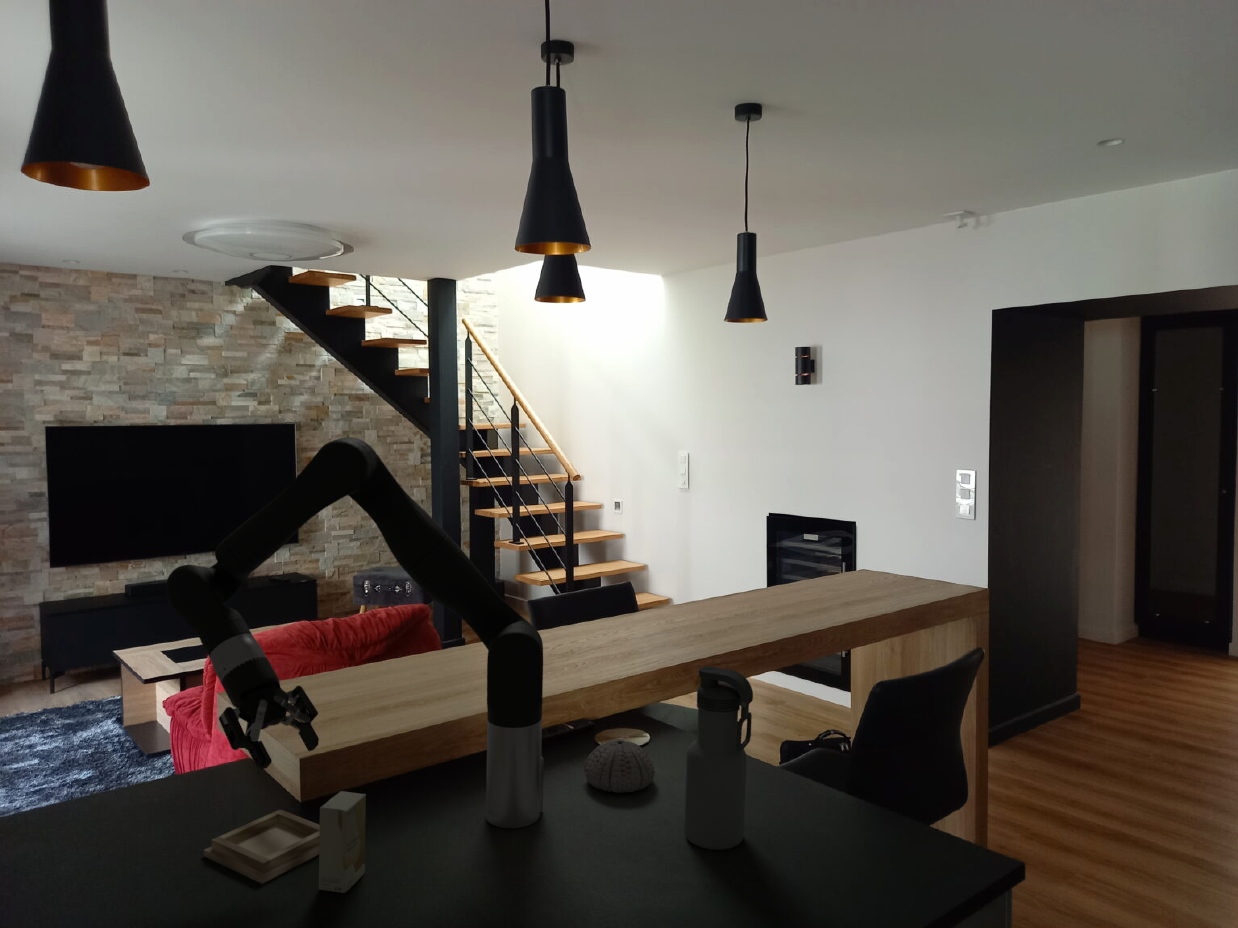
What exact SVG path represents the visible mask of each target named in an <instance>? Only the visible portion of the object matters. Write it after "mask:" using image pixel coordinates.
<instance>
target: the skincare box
mask: <svg viewBox="0 0 1238 928" xmlns="http://www.w3.org/2000/svg"><path fill="white" fill-rule="evenodd" d="M366 795H367V794H365V793H357V792H350V791H341V790H340V791H339V792H337V794H335V795H334V796H332V797H331V798H330V799H329V800H328V801H327V802H326V803H324V804H322V806H320V808H319V825H320V838H319V856H318V860H319V861H318V863H319V864H318V890H319V891H320V890H321V891H326V892H332V893H341V894H345V893H347V892H348V891H349V890H350V889H351V888H352V887H353V886H354V885H355V884H356V883H357V882H358V881H359V880H360V878H362V876H364V874H365V872H366V815H367V814H366V808H367V807H366V805H367V803H366V802H367V801H366V800H367V798H366V797H367V796H366Z"/></svg>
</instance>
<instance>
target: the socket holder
mask: <svg viewBox="0 0 1238 928" xmlns="http://www.w3.org/2000/svg"><path fill="white" fill-rule="evenodd" d="M319 838H320V824H318V823H316V822H314V821H310V820H309V819H306V818H303V817H301V816H298V815H296V814H293V813H290V812H288V811H287V810H283V809H278V810H276V811H274V812H271V813H269V814H267V815H265V816H262V817H259V818H258V819H255V820H253V821H251V822H249V823H246V824H243V825H242V826H240V827H238V828H235V829H233V830H230V831H228V832H226V833H224V834H221V835H219V836H218V837H217V836H216V837H215V838H213V839H211V846H209V847H207V848H205V849H203V857H205V858H207V859H210V860H211V861H213V862H216V863H217V864H219V865H222V866H223V867H226V868H228V869H230V870H232V871H234V872H236V873H238V874H240V875H242V876H245V877H247V878H249V879H251V880H253V881H255V882H257V883H259V884H265V883H267V882H268V881H271V880H272V879H274V878H277V877H278V876H280V875H282V874H284V873H286V872H288V871H290V870H292V869H293V868H295V867H298V866H300V865H302V864H304V863H305V862H307V861H309V860H311V859H313V858H314V857H316V856H318V855H319Z"/></svg>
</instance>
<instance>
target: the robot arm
mask: <svg viewBox="0 0 1238 928" xmlns="http://www.w3.org/2000/svg"><path fill="white" fill-rule="evenodd" d="M346 496H348V497H349V498H350V499H352V501H354V502H355V503H356V504H357V505H358V506H359V508H361V509H362V510H363V511H364V512H366V514H367V515H368V516H369V517H370V518H371V520H372V521H373V522H374V524H375V526H377V528H378V530H379V532H380V534H381V535H382V537H383V539H384V541H385V543H386V545H387V547H388V548H389V550H390V552H391V554H392V556H393V557H394V558H395V560H396V562H397V563H398V564H399V565H400V566H401V568H402V569H403V570H404V572H406V574H407V575H408V576H409V577H410V578H411V579H412V580H413V581H414V582H415V584H416V585H418V587H419V588H421V590H422V591H424V592H425V594H427V595H428V596H429V597H431V598H432V599H433V600H434V601H436V602H437V603H439V604H440V605H441V606H443V607H445V609H447V610H449V611H451V612H452V613H453V614H456V615H457V616H458V617H459V618H461V619H462V620H463V622H465V623H466V624H467V625H468V626H469V628H471V630H472V631H473V632H474V633H475V634H476V636H477V637H478V638H479V639H480V641H481V642H482V643H483V645H484V646H485V648H486V649H487V650H488V651H487V658H486V659H487V661H486V707H487V711H486V712H487V721H486V722H487V724H486V725H487V726H486V727H487V728H486V729H487V730H486V733H487V734H486V735H487V736H486V742H487V743H486V792H485V793H486V794H485V796H486V797H485V798H486V799H485V818H486V819H485V820H486V821H487V822H488V823H489V824H491V825H492V826H495V827H498V828H501V829H503V828H504V829H520V828H525V827H529V826H530V825H534V823H537V821H539V819H540V816H541V812H543V810H544V778H545V777H544V773H545V771H544V769H545V768H544V767H545V766H544V765H545V762H544V761H545V760H544V757H543V756H542V738H543V737H542V734H543V733H542V728H543V727H542V726H543V724H542V723H543V722H542V721H543V719H542V717H543V697H544V696H543V690H544V689H543V685H544V682H543V681H544V644H543V639H542V637H541V634H540V632H539V631H538V630H537V629H536V627H534V625H532V623H531V622H529V621H528V620H527V619H526V618H524V617H523V616H522V615H521V614H520V613H519V612H517V611H516V610H515V609H514V607H512V606H511V605H510V604H509V603H508V602H507V601H506V600H504V599H503V598H502V596H500V595H499V594H498V592H496V590H494V588H493V586H492V585H491V584H490V583H489V582H488V580H487V579H486V578H485V577H484V575H483V574H482V573H481V571H480V570H479V569H478V568H477V567H476V565H475V564H474V563H473V561H472V560H471V559H470V558H469V557H468V556H467V554H466V553H465V552H464V551H463V549H462V548H461V547H460V546H459V545H458V544H457V543H456V542H455V541H454V539H453V538H452V537H451V536H450V535H449V534H448V533H447V532H446V531H445V530H444V529H443V528H442V527H441V526H440V525H439V524H438V522H436V520H434V519H433V518H432V516H431V515H429V513H427V511H426V510H424V508H423V507H422V506H421V505H419V504H418V503H417V502H416V501H415V500H414V499H413V498H412V497H411V496H410V495H409V493H407V492H406V491H405V490H404V488H403V487H402V486H401V485H400V483H399V482H398V481H397V479H396V478H395V477H394V476H393V474H392V473H391V472H390V470H389V468H388V467H387V466H386V464H385V463H384V462H383V460H382V459H381V458H380V456H379V455H378V454H377V452H376V451H375V449H373V447H372V446H371V445H370V444H369V443H368V442H365V441H364V440H363V439H359V438H357V437H352V436H351V437H347V436H344V437H341V438H337V439H334V440H331V441H328V442H327V443H325V444H324V445H323V446H322V447H320V448H319V450H318V451H317V452H316V454H315V455H314V456H313V457H312V458H311V460H310V461H309V462H308V463H307V464H306V466H305V467H304V468H303V469H302V470H301V471H300V472H299V474H298V475H296V477H295V478H294V480H293V481H291V482H290V484H289V485H288V486H286V488H285V489H283V490H282V491H281V492H280V493H279V494H278V495H277V496H276V497H275V498H273V499H272V500H271V501H269V503H267V504H266V505H265V506H263V507H262V508H260V510H259V511H256V512H255V513H254V514H253V515H252V516H250V517H249V518H248V519H246V520H245V521H244V522H243V523H242V524H240V525H239V526H238V527H237V528H236V529H235V530H233V531H232V532H231V533H230V534H229V535H228V536H226V537H225V538H224V539H223V540H221V541H220V542H219V543H218V544H217V546H216V548H215V552H214V554H215V555H214V556H215V559H216V562H215V563H214V564H213V565H212V566H210V567H207V566H200V565H196V564H185V565H180V566H178V567H176V568H174V569H173V570H172V571H171V572H170V574H169V575H168V577H167V579H166V585H165V591H166V596H167V600H168V602H169V603H170V606H171V608H173V610H174V611H175V613H176V614H177V615H178V617H180V618H181V619H182V621H183V622H184V623H185V624H186V625H187V627H188V628H190V629H191V630H192V631H193V633H195V635H196V636H197V637H198V638H199V640H200V643H201V645H202V646H203V648H204V650H205V652H206V653H207V655H208V657H209V659H210V661H211V665H212V668H213V671H214V672H215V675H216V676H217V679H218V680H219V682H220V684H221V686H222V687H223V690H224V691H225V693H226V696H227V697H228V699H229V701H230V702H231V704H232V706H233V707H234V708H233V707H232V706H227V707H226V708H225V709H224V711H223V712H222V713H221V714H220V715H219V717H218V721H219V723H220V725H221V728H222V730H223V731H224V735H225V736H226V738H227V741H228V743H229V746H230V747H231V749H232V750H233V751H238V750H239V749H245V750H247V751H248V753H249V755H250V757H251V758H252V760H253V763H254V764H255V766H256V767H257V768H260V770H265V769H267V768H268V767H269V766H270V765H271V764H272V758H271V756H270V753H269V752H268V750H267V749H266V747H265V744H264V743H263V741H262V740H259V739H260V734H261V730H265V729H267V728H269V727H270V726H276V725H279V724H281V725H284V726H287V727H288V726H291V728H293V729H295V730H298V732H297V733H298V735H299V737H300V739H301V740H302V742H303V744H304V746H305V747H306V749H307V752H308V751H309V752H311V751H314V750H315V749H316V748H317V747H319V741H320V739H319V736H318V735H317V733H316V731H315V729H314V727H313V725H312V722H313V721H314V720H315V718H317V717H318V715H319V711H318V710H317V708H316V707H315V705H314V703H313V702H312V701H311V699H310V698H309V696H308V695H307V693H306V691H305V689H304V688H303V687H302V686H301V685H296V687H295V686H294V689H292V690H289V691H285V690H284V689H282V688H281V685H280V679H279V676H278V675H277V673H276V671H275V670H274V667H273V666H272V663H271V662H270V661H269V659H268V657H267V656H266V654H265V652H264V650H263V648H262V647H261V645H260V643H259V641H257V640H256V639H255V637H254V636H253V634H252V631H251V630H250V628H249V627H248V624H247V622H246V621H245V619H244V617H243V616H242V615H241V613H239V611H238V610H236V609H234V608H232V607H230V606H228V605H226V604H228V603H229V602H230V601H231V600H233V598H234V597H235V596H236V594H237V593H238V591H240V589H241V588H242V586H243V585H244V583H246V581H247V580H248V578H249V576H250V575H251V573H253V572H254V571H256V570H257V569H258V568H259V567H260V566H261V565H262V564H264V563H265V562H266V561H268V560H269V559H270V558H271V557H272V556H273V555H275V553H277V552H278V551H279V550H280V549H281V548H282V547H283V546H284V545H285V544H286V543H287V542H289V540H290V539H291V538H292V537H294V535H295V534H296V533H297V532H298V531H299V530H300V529H301V528H302V527H303V526H304V525H306V523H308V522H309V520H311V519H312V518H313V517H314V516H316V515H317V514H319V513H320V512H321V511H323V510H325V509H326V508H328V507H329V506H331V505H333V504H335V503H336V502H338V501H339V500H342V499H343V498H345V497H346ZM287 713H288V714H289V715H287ZM239 719H240V720H243V721H245V722H246V728H245V732H244V728H243V727H242V725H241V723H240V720H239Z"/></svg>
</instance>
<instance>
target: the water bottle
mask: <svg viewBox="0 0 1238 928" xmlns="http://www.w3.org/2000/svg"><path fill="white" fill-rule="evenodd" d="M698 677H699V678H700V683H699V686H698V687H697V689H696V708H697V734H696V735H697V736H696V740H694V741H693V742H692V743H690V745H689V746H688V748H687V751H686V766H685V767H686V768H685V771H686V772H685V773H686V774H685V798H684V799H685V800H684V801H685V802H684V803H685V804H684V835H685V837H686V839H687V840H688V841H689V842H690V843H692V844H693V845H695V846H697V847H699V848H702V849H705V850H706V849H707V850H710V851H711V850H712V851H725V850H729V849H733V848H735V847H737V846H738V845H740V844H741V843H742V841H743V839H744V837H745V835H744V833H745V808H746V807H745V806H746V781H747V753H746V751H745V748H746V747H747V745H749V743H750V741H751V738H752V737H751V736H752V719H753V718H752V716H753V714H752V712H750V710H749V709H750V704H751V703H752V702H753V700H754V691H753V688H752V685H751V683H750V682H749V680H748V679H747V678H746V676H744V675H743V673H740V672H738V671H735V670H732V669H728V668H724V667H723V668H721V667H716V666H709V665H708V666H701V667H699V669H698ZM739 711H740V718H739ZM738 718H739V719H738ZM745 722H746V733H745V734H746V735H745V739H744V740H743V741H742V735H743V734H742V731H743V725H744V723H745Z"/></svg>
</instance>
